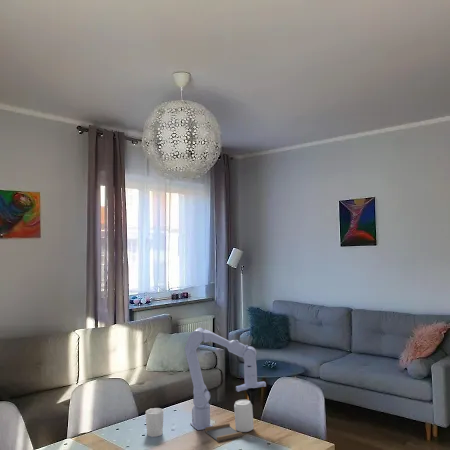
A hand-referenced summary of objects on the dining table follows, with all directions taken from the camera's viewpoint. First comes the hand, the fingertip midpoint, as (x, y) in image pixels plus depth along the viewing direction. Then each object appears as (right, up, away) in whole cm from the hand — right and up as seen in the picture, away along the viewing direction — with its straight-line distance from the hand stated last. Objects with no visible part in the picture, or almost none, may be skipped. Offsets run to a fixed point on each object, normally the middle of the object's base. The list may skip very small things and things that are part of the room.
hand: (251, 405), depth 208 cm
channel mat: (-13, -10, -7) cm, 18 cm away
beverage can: (-3, -10, -2) cm, 11 cm away
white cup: (-43, -11, -5) cm, 45 cm away
